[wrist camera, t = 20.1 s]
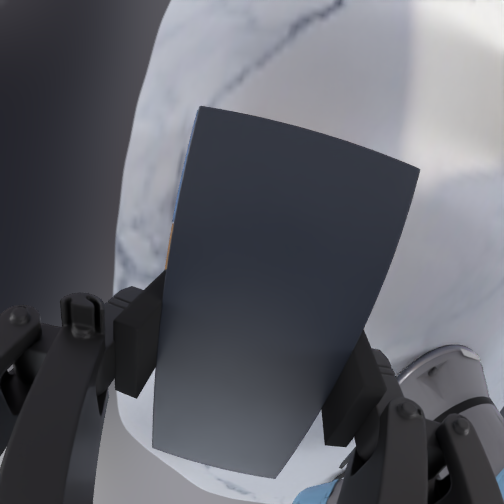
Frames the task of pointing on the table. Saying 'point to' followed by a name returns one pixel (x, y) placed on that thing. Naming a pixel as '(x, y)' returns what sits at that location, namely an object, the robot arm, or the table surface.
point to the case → (268, 284)
